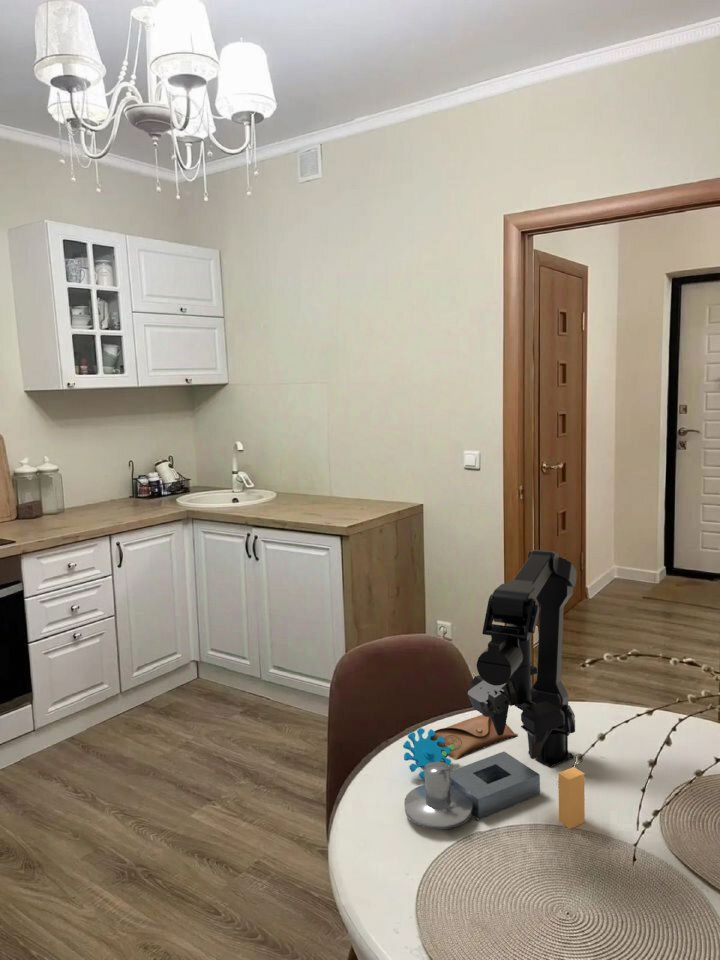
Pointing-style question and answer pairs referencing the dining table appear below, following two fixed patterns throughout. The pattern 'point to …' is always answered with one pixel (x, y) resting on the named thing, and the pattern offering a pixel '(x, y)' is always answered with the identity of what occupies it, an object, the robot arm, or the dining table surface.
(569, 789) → the tan wooden beam
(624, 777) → the dining table surface
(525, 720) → the robot arm
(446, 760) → the gear
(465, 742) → the sunglasses case
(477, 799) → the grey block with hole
